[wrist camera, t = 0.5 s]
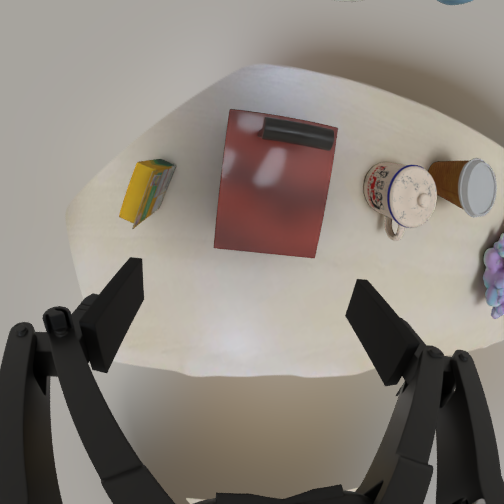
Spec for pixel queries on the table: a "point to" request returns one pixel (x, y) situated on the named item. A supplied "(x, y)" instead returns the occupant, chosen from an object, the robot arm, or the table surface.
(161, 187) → the crayon box
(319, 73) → the table surface
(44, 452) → the robot arm
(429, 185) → the teacup with lid
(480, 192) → the disposable coffee cup
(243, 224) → the lid
